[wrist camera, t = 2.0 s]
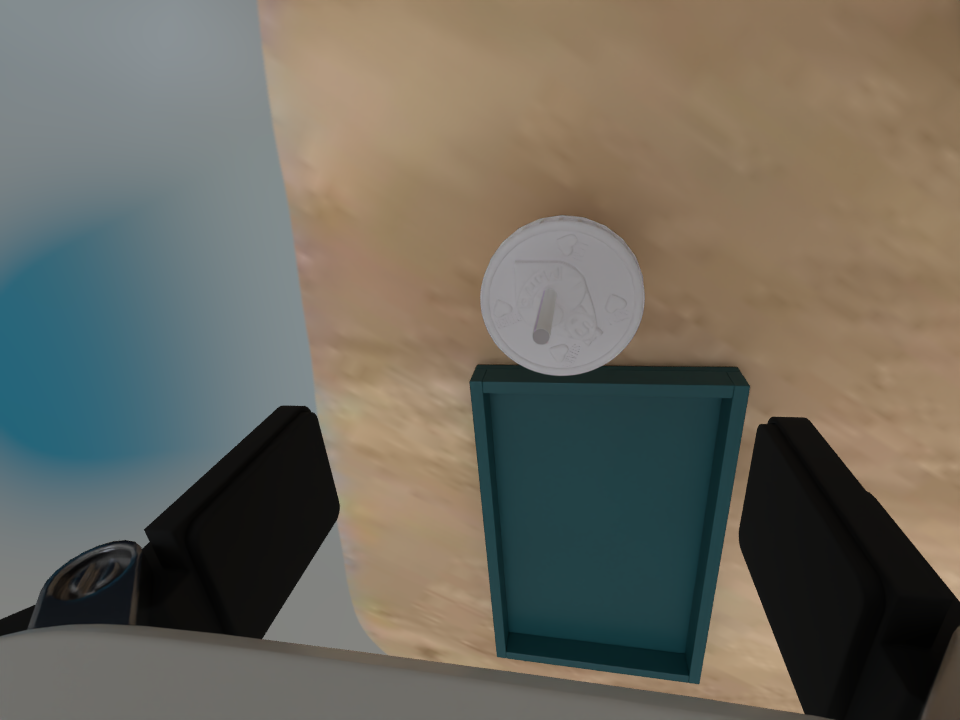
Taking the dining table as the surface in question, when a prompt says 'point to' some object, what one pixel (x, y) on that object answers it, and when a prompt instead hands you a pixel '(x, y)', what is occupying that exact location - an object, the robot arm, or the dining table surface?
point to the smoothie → (562, 295)
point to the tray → (606, 511)
